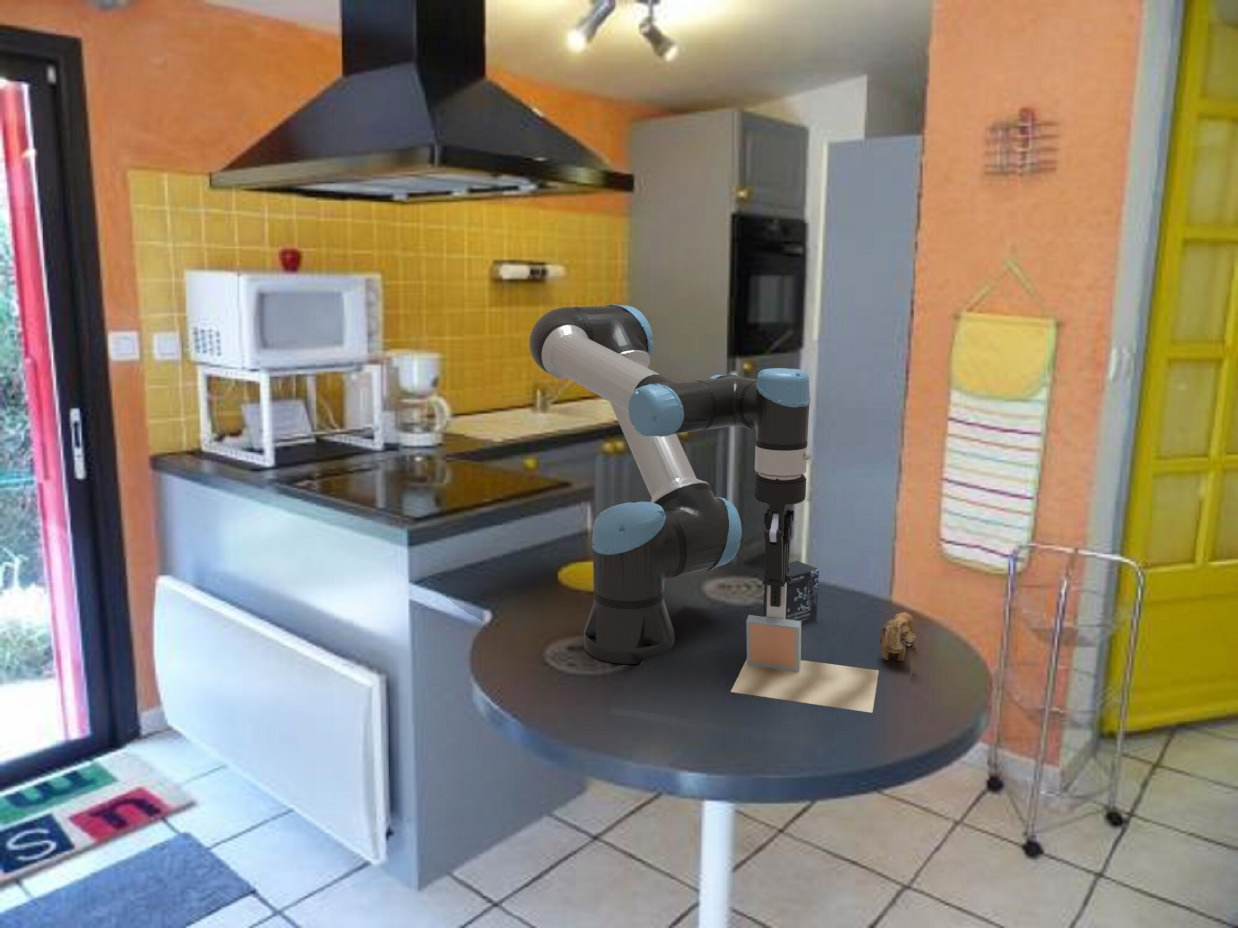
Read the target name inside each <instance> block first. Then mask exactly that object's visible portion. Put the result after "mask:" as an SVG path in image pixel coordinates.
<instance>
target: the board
mask: <svg viewBox="0 0 1238 928" xmlns="http://www.w3.org/2000/svg"><path fill="white" fill-rule="evenodd" d="M879 673H880V670H879V669H870V668H864V667H863V668H862V667H855V666H848V665H841V664H832V663H825V662H819V661H811V660H803V659H801V666H800V670H799V672H794V671H787V670H780V669H773V668H765V667H758V666H751V665H747V658H746V659H745V662H744V663H743V666H742V668H741V670H740V671H739V674H738V676H737V678H736V680H735V682H734V684H733V686H732V688H731V690H730V693H736V694H741V695H749V696H755V697H762V698H763V697H764V698H769V699H775V700H782V701H790V702H797V703H803V704H810V705H816V706H822V707H823V706H824V707H830V708H836V709H843V710H849V711H850V710H851V711H856V712H857V711H858V712H864V713H871V714H873V713H874V706H875V705H874V704H875V699H876V693H877V686H878V678H879Z"/></svg>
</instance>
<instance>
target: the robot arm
mask: <svg viewBox="0 0 1238 928" xmlns="http://www.w3.org/2000/svg"><path fill="white" fill-rule="evenodd" d="M652 338H653V332H652V327H651V326H650V323H649V321H648V319H647V318H646V316H645V314H644V313H642V312H641V311H640V310H639V309H637V308H635V307H633V306H631V305H622V304H621V305H620V304H615V303H614V304H612V303H611V304H608V305H605V306H603V305H601V306H596V305H595V306H564V307H563V306H562V307H558V308H554V309H551V310H549V311H548V312H546V313H544V314H543V315H542V316H541V317H540V318H539V319H538V320H536V322H535V323H534V325H533V327H532V329H531V331H530V335H529V341H528V343H529V345H528V346H529V351H530V354H531V357H532V359H533V361H534V362H535V364H536V365H537V366H538V367H539V368H540V369H542V370H543V371H544V372H545V373H547V374H549V375H550V376H552V377H553V378H554V377H555V378H556V379H565V380H566V379H569V380H571V381H572V382H574V383H576V384H578V385H579V386H581V387H583V388H584V389H587V390H589V392H592V393H593V394H595V395H597V396H598V397H600V398H603V399H604V400H606V401H607V402H609V403H610V405H611V408H612V410H613V412H614V415H615V416H616V419H617V421H618V424H619V426H620V428H621V431H622V433H623V435H624V437H625V440H626V442H627V444H628V446H629V450H630V451H631V454H632V457H633V459H634V460H635V463H636V466H637V467H638V470H639V472H640V475H641V476H642V480H643V481H644V483H645V486H646V489H647V491H648V493H649V495H650V497H651V499H650V501H637V502H631V501H629V502H624V503H619V504H615V505H613V506H609V507H607V508H606V509H604V510H602V511H601V512H600V513H598V515H597V516H596V518H595V520H594V521H593V526H592V538H591V546H592V570H593V571H592V577H593V578H592V579H593V581H592V583H593V584H592V585H593V602H592V605H591V609H590V612H589V615H588V618H587V622H586V624H585V628H584V630H583V648H584V651H585V652H586V653H587V654H588V655H589V656H591V657H592V658H593V657H594V658H595V659H597V660H600V661H603V662H608V663H612V664H619V665H621V664H622V665H630V664H631V665H633V664H637V665H638V664H641V663H642V662H643V660H644V659H648V658H653V657H657V656H659V655H662V654H664V653H666V652H668V651H670V649H672V648H673V646H674V645H675V637H676V636H675V629H674V627H673V624H672V619H671V618H670V614H669V612H668V609H667V605H666V603H665V581H666V580H669V579H673V578H677V577H681V576H687V575H691V574H695V573H698V572H703V571H712V570H714V569H715V568H717V567H720V566H721V567H722V566H724V565H727V564H729V563H730V562H731V561H732V560H733V559H734V558H735V557H736V555H737V553H738V551H739V549H740V547H741V539H742V534H743V533H742V532H743V531H742V529H743V528H742V522H741V518H740V515H739V512H738V510H737V508H736V506H735V505H734V504H733V502H732V501H730V500H727V498H723V497H721V496H719V497H718V496H717V497H716V496H715V495H714V492H713V491H712V488H711V486H710V484H709V483H708V482H707V481H705V480H701V479H698V478H697V476H696V474H695V472H694V469H693V468H692V466H691V463H690V461H689V458H688V457H687V454H686V453H685V450H684V448H683V446H682V443H681V441H680V440H679V436H678V434H684V433H689V432H690V433H691V432H692V433H693V432H697V431H698V432H699V431H706V430H713V429H714V430H715V429H722V428H729V427H741V428H744V429H745V428H747V429H751V430H754V431H756V432H755V434H756V438H755V447H754V448H755V450H754V453H755V454H754V471H755V472H756V473H757V474H756V475H755V476H754V498H755V499H756V500H757V501H758V502H760V503H765V504H767V505H769V506H768V507H769V508H767V510H766V512H765V513H764V515H763V518H764V521H763V524H764V526H765V528H764V531H763V535H764V544H765V545H764V546H765V547H764V548H765V549H764V551H765V559H764V560H765V569H766V579H765V578H764V579H763V580H762V585H764V586H765V585H768V586H767V617H771V618H779V619H786V591H787V583H786V582H785V581H790V582H791V580H792V576H787V573H788V572H789V563H790V552H791V551H790V550H791V538H792V534H793V521H794V518H795V510H793V509H791V506H793V505H796V504H797V505H798V504H800V503H802V502H804V501H805V500H806V498H807V497H806V496H807V495H806V494H807V493H806V492H807V477H806V476H805V473H806V472H807V461H810V460H811V459H812V454H811V453H810V452H807V450H808V436H809V435H808V433H809V415H810V414H809V413H810V404H811V396H810V394H811V392H810V377H809V375H808V373H807V372H806V371H805V370H802V369H797V368H785V367H778V368H777V367H775V368H774V367H773V368H772V367H771V368H765V369H762V370H760V371H759V372H758V373H757V379H755V378H751V377H750V378H749V377H742V376H739V375H738V376H737V375H736V374H731V373H729V374H714V375H713V376H710V377H709V378H708V379H703V380H690V381H689V380H687V381H675V380H672V379H670V378H668V377H667V376H665V375H662V374H660V373H658V372H655V371H654V370H652V369H650V368H649V366H650V364H651V356H652V353H653V349H654V341H653V340H652ZM806 452H807V453H806Z"/></svg>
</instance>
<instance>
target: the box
mask: <svg viewBox="0 0 1238 928" xmlns="http://www.w3.org/2000/svg"><path fill="white" fill-rule="evenodd" d="M764 571H765V572H764V579H766V568H765V570H764ZM819 575H820V569H819V568H817V567H815V566H813V565H810V564H807V563H805V562H802V561H799V560H794V561H791V562H789V572H788V573H787V576H792V580H791V582H790V581H785V582H786V583H787V591H786V619H787V620H796V621H801V626H802V625H805V624H808V623H812V622H813V623H817V617H818V596H819V580H820V579H819ZM767 586H768V585H764V590H763V591H764V592H763V593H764V594H763V610H762V611H763V612H762V613H763V614H762V615H763V616H762V617H767Z"/></svg>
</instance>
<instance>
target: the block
mask: <svg viewBox="0 0 1238 928" xmlns="http://www.w3.org/2000/svg"><path fill="white" fill-rule="evenodd" d="M745 629H746V630H745V631H746V659H747V665H751V666H758V667H765V668H773V669H780V670H787V671H794V672H799V670H800V666H801V660H802V653H801V651H802V625H801V621H796V620H787V619H779V618H771V617H763V616H760V615H753V614H748V615H747V618H746V627H745Z"/></svg>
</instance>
